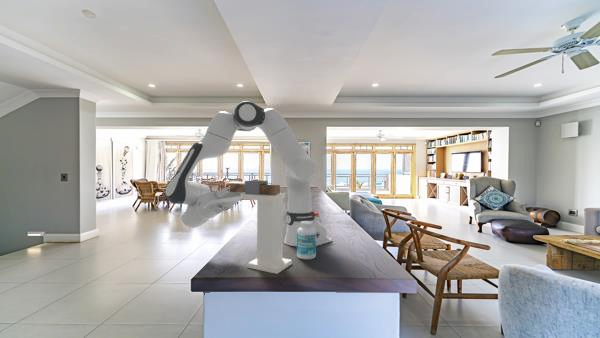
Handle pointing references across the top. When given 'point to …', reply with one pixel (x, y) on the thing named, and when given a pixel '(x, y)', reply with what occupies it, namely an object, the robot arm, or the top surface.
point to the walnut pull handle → (263, 188)
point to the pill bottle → (306, 241)
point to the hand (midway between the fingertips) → (236, 188)
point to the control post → (267, 229)
